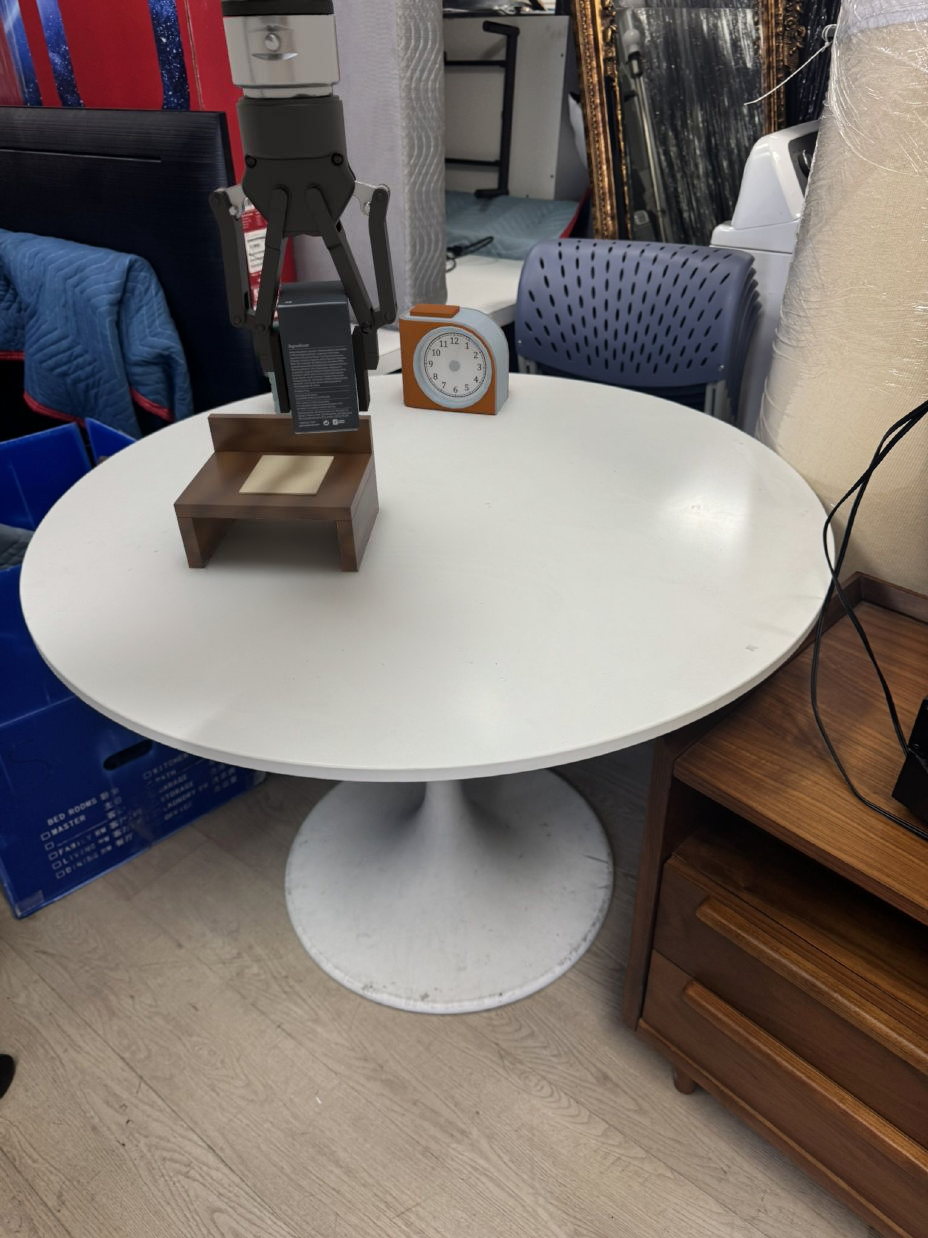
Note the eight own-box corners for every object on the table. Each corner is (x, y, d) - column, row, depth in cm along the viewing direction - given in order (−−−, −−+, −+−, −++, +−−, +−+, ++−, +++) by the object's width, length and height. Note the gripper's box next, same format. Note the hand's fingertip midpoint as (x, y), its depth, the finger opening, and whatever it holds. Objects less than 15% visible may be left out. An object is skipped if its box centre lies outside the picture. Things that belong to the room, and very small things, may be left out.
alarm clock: (399, 407, 122) (393, 313, 115) (417, 387, 129) (413, 298, 121) (494, 415, 119) (495, 320, 111) (508, 395, 125) (510, 304, 118)
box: (361, 431, 69) (347, 300, 63) (294, 436, 68) (273, 305, 62) (358, 398, 75) (345, 277, 69) (296, 402, 75) (278, 281, 69)
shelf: (188, 567, 86) (163, 467, 79) (229, 505, 97) (210, 413, 91) (357, 571, 85) (346, 469, 78) (379, 508, 96) (370, 414, 89)
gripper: (137, 97, 55) (206, 425, 68) (420, 91, 55) (433, 420, 68) (169, 91, 61) (227, 393, 74) (424, 86, 61) (436, 389, 74)
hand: (326, 406), depth 71 cm, fingers closed on box, 6 cm apart
